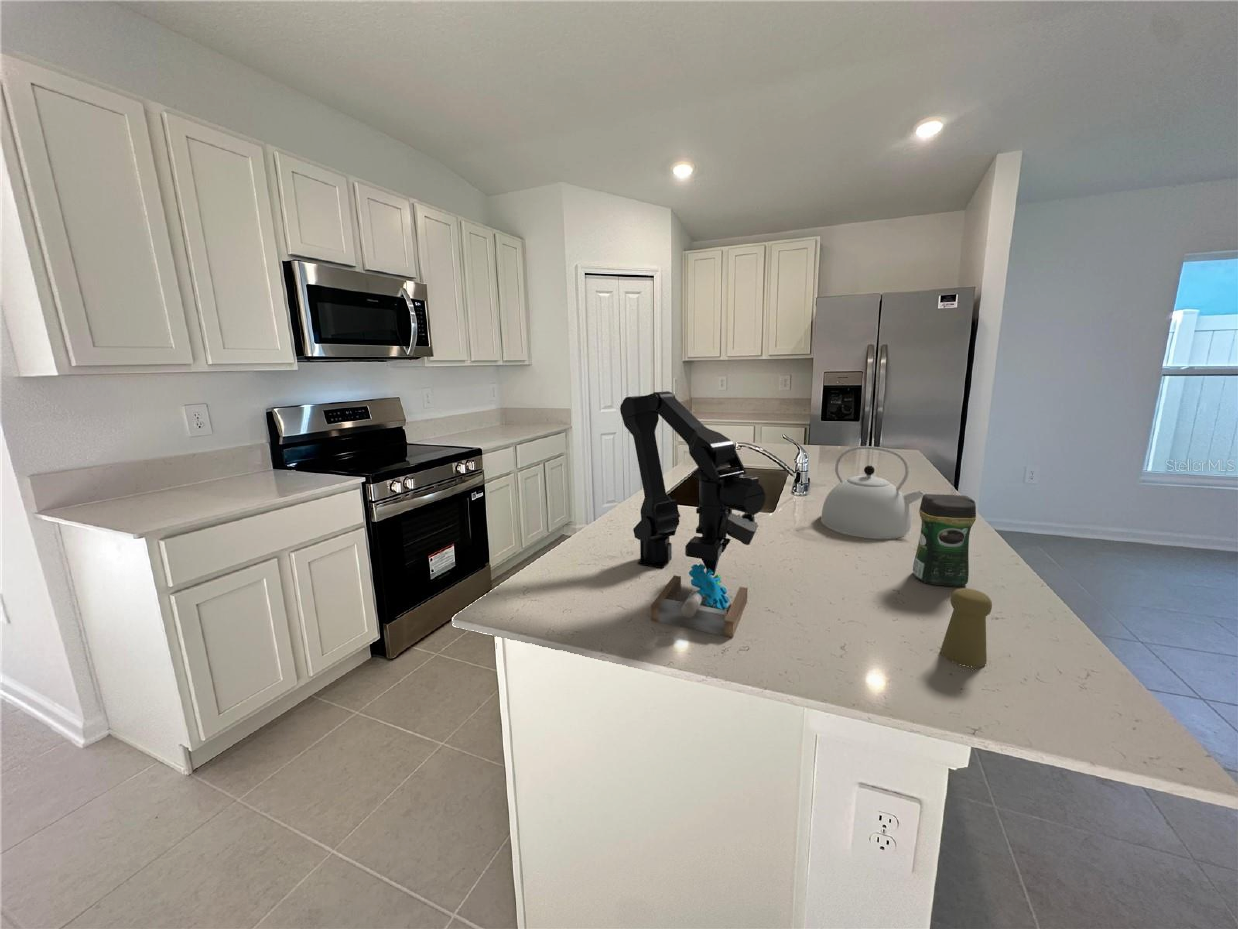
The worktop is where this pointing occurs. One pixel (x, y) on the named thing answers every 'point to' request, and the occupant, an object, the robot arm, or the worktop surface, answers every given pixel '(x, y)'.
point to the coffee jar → (944, 539)
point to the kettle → (869, 504)
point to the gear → (709, 586)
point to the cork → (967, 628)
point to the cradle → (697, 611)
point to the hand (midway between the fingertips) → (711, 574)
